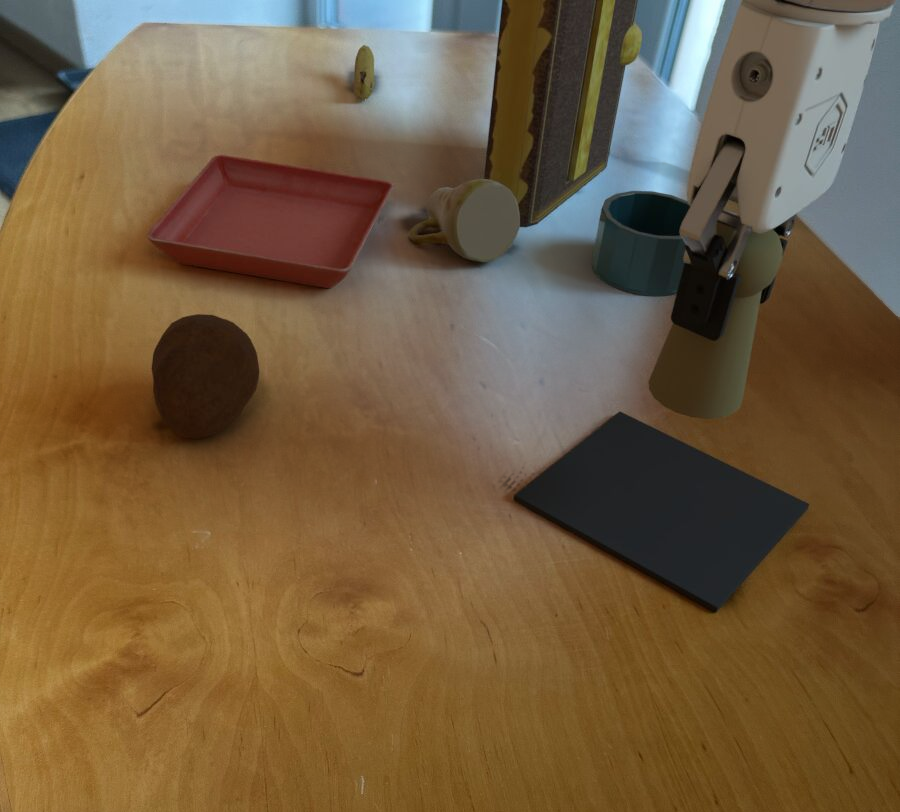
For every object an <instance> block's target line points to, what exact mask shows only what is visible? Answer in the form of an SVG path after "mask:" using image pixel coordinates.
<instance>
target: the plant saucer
mask: <svg viewBox="0 0 900 812" xmlns="http://www.w3.org/2000/svg"><path fill="white" fill-rule="evenodd" d="M394 187H395V184H394V183H392V182H391V181H387V180H382V179H375V178H368V177H364V176H355V175H351V174H344V173H340V172H339V173H338V172H332V171H326V170H320V169H315V168H307V167H301V166H296V165H291V164H284V163H283V164H282V163H276V162H271V161H264V160H258V159H252V158H245V157H240V156H239V157H238V156H232V155H226V154H218V155H215V156H212V158H210V159H209V161H208V162H207V163H206V165H205V166H204V167H203V168H202V169H201V171H199V173H198V174H197V175H196V176H195V177H194V179H193V180H192V181H191V182H190V183H189V184H188V185H187V187H186V188H185V189H184V190H183V191H182V192H181V194H180V195H179V196H178V197H177V198H176V199H175V201H174V202H173V203H172V204H170V207H169V208H168V209H167V210H166V211H165V212H164V214H163V215H162V216H161V217H160V218H159V219H158V221H156V223H155V224H154V225H153V226H152V227H151V228H150V229H149V231H148V232H147V234H146V237H147V240H148V241H150V242H151V243H152V244H153V245H154V246H155V247H156V248H158V250H160V251H161V252H163V253H164V254H166V255H167V256H168V257H169V258H171V259H173V260H174V261H176V262H177V263H180V264H182V265H186V266H192V265H193V267H198V268H204V269H205V268H206V269H211V270H217V271H224V272H230V273H235V274H242V275H248V276H255V277H260V278H264V279H265V278H266V279H272V280H276V281H282V282H289V283H294V284H300V285H307V286H312V287H319V288H325V289H331V288H334V287H336V286H337V285H338V284H339V283H341V282H342V281H343V280H344V279H345V278H346V277H347V275H348V274H349V272H350V271H351V269H352V267H353V265H354V263H355V262H356V260H357V258H358V256H359V254H360V253H361V252H360V251H361V250H362V248H363V246H364V244H365V242H366V241H367V239H368V237H369V235H370V233H371V231H372V229H373V227H374V225H375V223H376V221H377V219H378V218H379V216H380V214H381V213H382V210H383V208H384V206H385V204H386V203H387V201H388V199H389V197H390V195H391V194H392V192H393V189H395V188H394Z"/></svg>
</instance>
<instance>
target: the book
mask: <svg viewBox="0 0 900 812" xmlns="http://www.w3.org/2000/svg"><path fill="white" fill-rule="evenodd" d="M638 1H639V0H501V9H500V17H499V18H500V20H499V28H498V38H497V48H496V56H495V67H494V68H495V69H494V77H493V86H492V96H491V105H490V115H489V124H488V125H489V127H488V135H487V144H486V145H487V146H486V154H485V155H486V156H485V163H484V173H483V179H488V180H493V181H496V182H498V183H500V184H502V185H504V186H505V187H507V188H508V189H509V190H510V191H511V192H512V194H513V195H514V197H515V198H516V200H517V204H518V207H519V213H520V227H526V228H527V227H531V226H534V225H538V224H539V223H540V222H542V221H543V220H544V219H545V218H547V217H548V216H549V215H550V214H552V212H554V211H555V210H556V209H558V208H559V207H560V206H562V204H564V203H565V202H566V201H568V200H569V199H570V198H571V197H572V196H574V195H575V194H576V193H578V192H579V191H580V190H581V189H583V188H584V187H585V186H586V185H587V184H589V183H590V182H591V181H592V180H593V179H595V178H596V177H597V176H598V175H600V174H601V173H602V172H604V171H605V170H606V169H607V168H606V167H608V162H609V157H610V152H611V146H612V142H613V141H612V140H613V135H614V130H615V125H616V119H617V114H618V108H619V103H620V97H621V94H622V93H621V92H622V89H623V88H622V87H623V83H624V82H623V81H624V77H625V71H626V67H627V66H628V65H631V64H632V63H634V62H635V61H636V60H637V57H638V55H639V53H640V52H641V47H642V41H643V35H642V34H643V33H642V29H641V28H640V27H639V25H637V23H636V22H635V17H636V12H637V7H638ZM605 168H606V169H605ZM604 169H605V170H604ZM600 172H601V173H600ZM599 173H600V174H599ZM588 182H589V183H588ZM583 186H584V187H583Z"/></svg>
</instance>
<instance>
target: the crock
mask: <svg viewBox="0 0 900 812" xmlns="http://www.w3.org/2000/svg"><path fill="white" fill-rule="evenodd" d="M689 208H690V204H689V202H688V200H686V199H683V198H681V197H678V196H676V195H673V194H667V193H663V192H657V191H653V190H630V191H629V190H628V191H623V192H618V193H614V194H613V195H610V196H609V197H607V198H606V199H605V200H604V201H603V204H602V207H601V209H600V215H599V221H598V226H597V231H596V232H597V233H596V236H595V242H594V246H593V252H592V258H591V266H592V270H593V271H594V274H596V276H597V277H598V278H600V279H601V280H602V281H603V282H604V283H606V284H608V285H610V286H612V287H614V288H616V289H618V290H621V291H623V292H626V293H631V294H635V295H639V296H647V297H649V296H650V297H664V296H671V295H676V294H677V291H678V287H679V283H680V279H681V275H682V271H683V267H684V264H685V262H684V261H683V256H684V253H685V250H686V248H685V242H684V241H683V239H682V237H681V236H680V233H679V231H680V226H681V224H682V221H683V220H684V218H685V216H686V214H687V212H688V210H689Z"/></svg>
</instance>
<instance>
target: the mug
mask: <svg viewBox="0 0 900 812" xmlns="http://www.w3.org/2000/svg"><path fill="white" fill-rule="evenodd" d="M426 215H427V219H426V220H424V221H421V222H419V223H416V224H415V225H413V226H412V228H411V229H410V230H409V232H408V236H407V237H409V238H408V239H409V240H410V241H412V242H413V243H415V244H419V245H427V244H444V245H448V246H450V248H451V249H452V250H453V251H454V253H456V254H458V255H459V256H460V257H462V258H464V259H466V260H468V261H473V262H479V263H480V262H481V263H491V262H494V261H495V260H497V259H499V258H501V257H502V256H504V254H507V251H509V249H510V248H511V246H512V245H513V243H514V242H515V240H516V237H517V236H518V233H519V230H520V227H521V226H520V213H519V207H518V204H517V200H516V198H515V197H514V195H513V194H512V192H511V191H510V190H509V189H508V188H507V187H505V186H504V185H502V184H500V183H498V182H496V181H493V180H488V179H484V178H476V179H471V180H468V181H465V182H463V183H461V184H459V185H458V186H457V185H456V186H455V187H449V186H444V187H440V188H438V189H436V190H435V191H433V192H432V194H430V197H429V198H428V200H427V203H426ZM429 228H432V229H433V228H434V229H437V230H440V231H439V232H434V233H427V234H420V233H421V232H423V231H424V230H426V229H429Z"/></svg>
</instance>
